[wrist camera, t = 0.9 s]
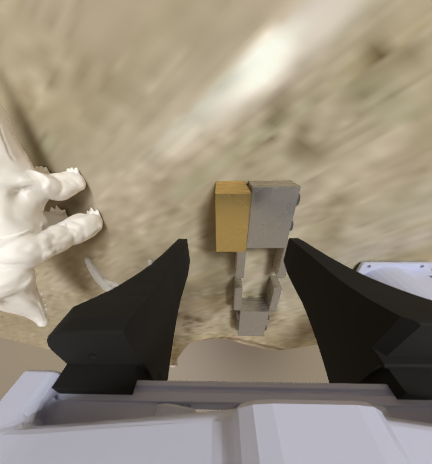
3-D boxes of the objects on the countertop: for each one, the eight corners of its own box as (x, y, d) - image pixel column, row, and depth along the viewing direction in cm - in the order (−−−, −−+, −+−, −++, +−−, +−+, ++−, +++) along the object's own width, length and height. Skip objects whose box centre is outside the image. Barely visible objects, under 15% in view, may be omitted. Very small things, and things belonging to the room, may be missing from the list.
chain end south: (300, 180, 17) (311, 186, 15) (279, 266, 23) (285, 279, 21) (239, 181, 17) (241, 187, 15) (234, 266, 23) (236, 279, 21)
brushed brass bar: (244, 180, 17) (251, 193, 13) (240, 229, 20) (245, 251, 16) (216, 181, 17) (215, 194, 13) (217, 229, 20) (216, 251, 16)
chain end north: (276, 276, 24) (282, 289, 22) (265, 322, 30) (269, 336, 28) (233, 276, 24) (235, 289, 22) (231, 322, 30) (232, 335, 28)
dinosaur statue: (74, 271, 23) (-37, 359, 13) (-19, 35, 13) (-830, -383, 3) (122, 274, 23) (47, 363, 13) (65, 41, 13) (-445, -349, 3)
